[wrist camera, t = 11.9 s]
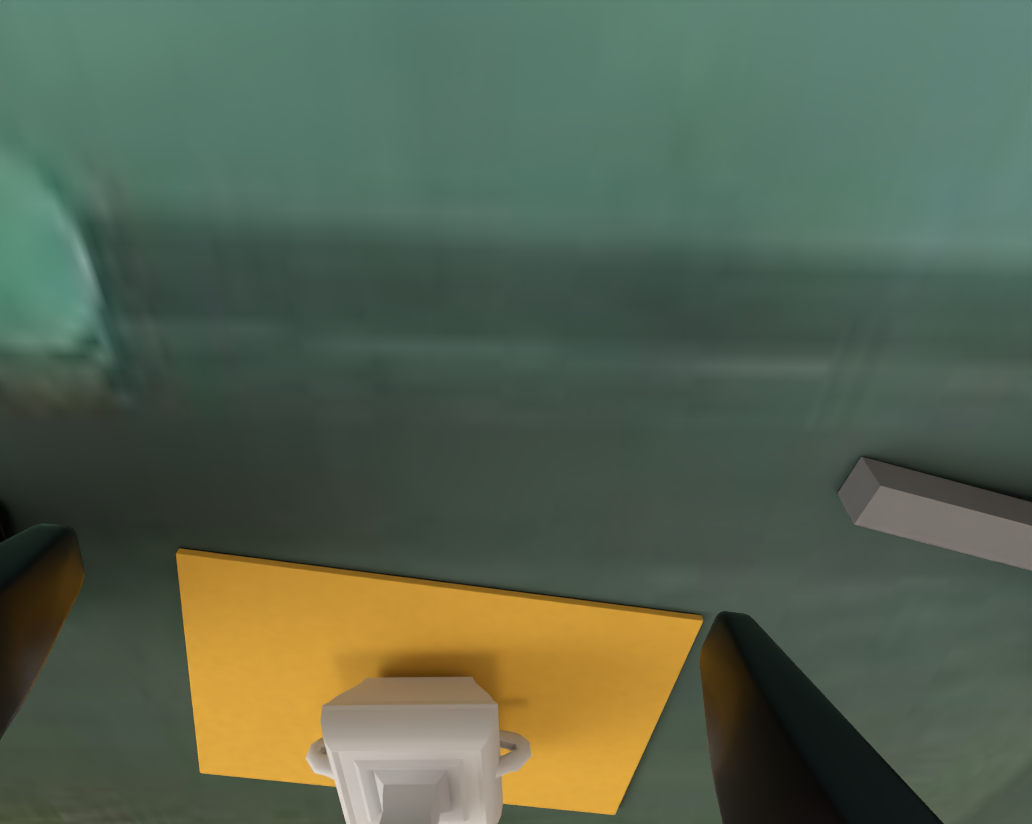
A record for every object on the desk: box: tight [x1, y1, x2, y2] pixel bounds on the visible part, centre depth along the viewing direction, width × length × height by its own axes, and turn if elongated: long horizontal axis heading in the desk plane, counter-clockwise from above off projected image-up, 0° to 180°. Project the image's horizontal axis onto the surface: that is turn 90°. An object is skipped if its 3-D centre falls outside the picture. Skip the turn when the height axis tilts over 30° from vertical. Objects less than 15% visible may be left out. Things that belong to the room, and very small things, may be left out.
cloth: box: [176, 548, 703, 815], centre depth 30 cm, size 20×14×1 cm
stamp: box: [306, 677, 531, 824], centre depth 26 cm, size 9×7×8 cm
